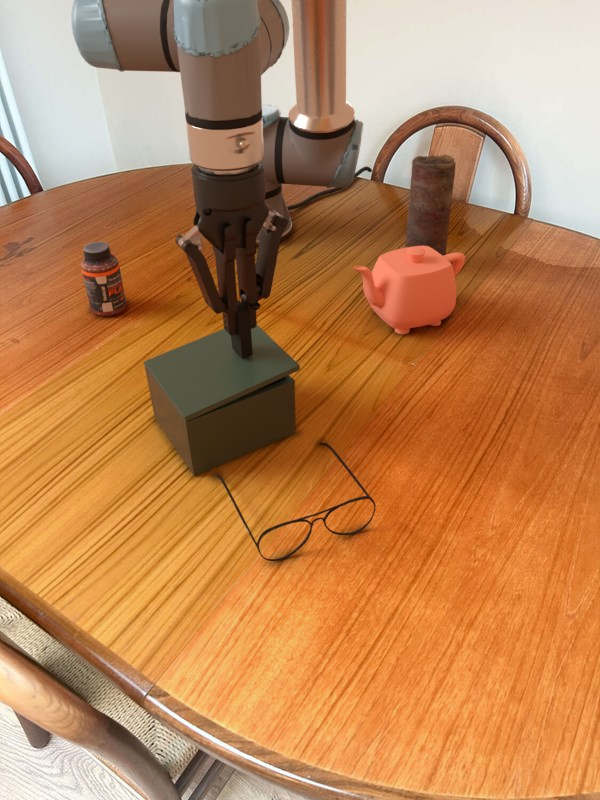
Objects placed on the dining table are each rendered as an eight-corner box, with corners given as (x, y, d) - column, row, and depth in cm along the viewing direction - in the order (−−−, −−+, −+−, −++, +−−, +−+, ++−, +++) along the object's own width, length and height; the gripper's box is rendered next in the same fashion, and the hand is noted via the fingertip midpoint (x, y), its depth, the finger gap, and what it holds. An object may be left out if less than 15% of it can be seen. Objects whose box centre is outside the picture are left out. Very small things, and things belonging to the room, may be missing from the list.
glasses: (258, 569, 70) (254, 535, 67) (217, 486, 81) (212, 454, 78) (377, 526, 74) (377, 492, 71) (322, 453, 86) (320, 422, 83)
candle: (397, 271, 119) (408, 161, 107) (407, 254, 125) (419, 147, 112) (439, 279, 117) (454, 167, 104) (447, 261, 122) (463, 152, 110)
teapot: (436, 288, 115) (446, 224, 107) (476, 322, 106) (489, 254, 99) (333, 313, 109) (335, 247, 101) (367, 351, 100) (372, 281, 92)
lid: (250, 322, 88) (250, 317, 88) (300, 370, 80) (299, 365, 79) (144, 366, 83) (143, 361, 82) (185, 422, 75) (184, 417, 74)
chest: (250, 383, 94) (246, 332, 89) (295, 433, 86) (294, 380, 80) (154, 419, 88) (144, 366, 83) (194, 476, 80) (185, 422, 75)
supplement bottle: (118, 319, 108) (105, 257, 100) (85, 316, 109) (69, 253, 101) (132, 301, 112) (120, 239, 105) (100, 297, 113) (86, 236, 106)
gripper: (183, 187, 62) (208, 384, 77) (301, 160, 67) (302, 350, 82) (153, 163, 67) (181, 353, 82) (265, 140, 72) (272, 322, 87)
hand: (242, 351), depth 82 cm, fingers closed
